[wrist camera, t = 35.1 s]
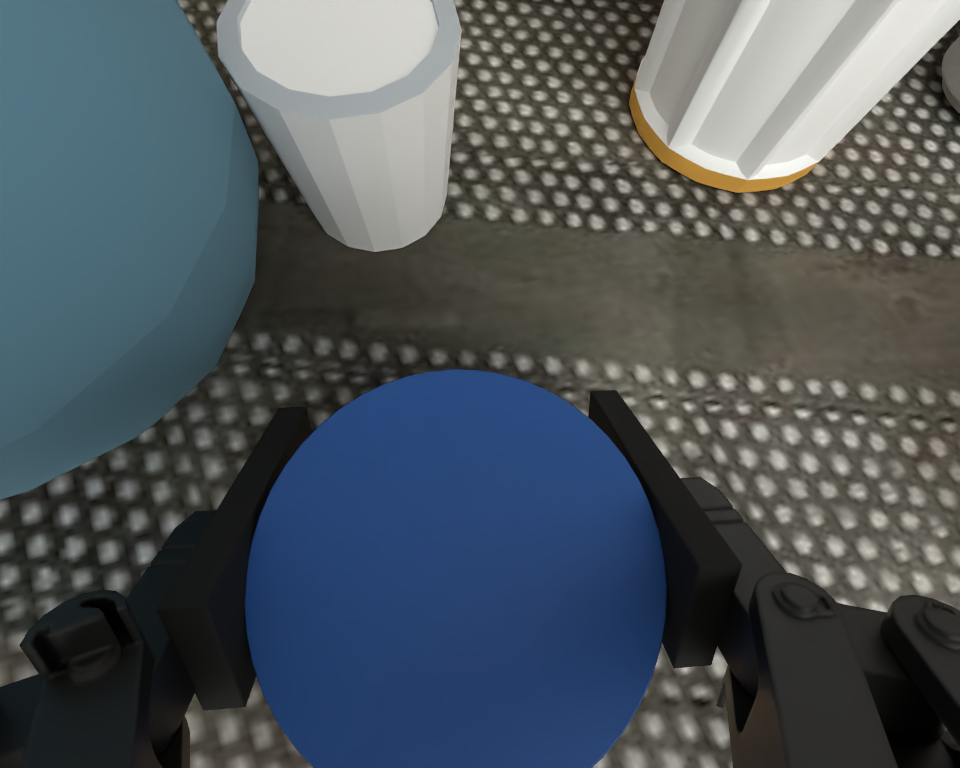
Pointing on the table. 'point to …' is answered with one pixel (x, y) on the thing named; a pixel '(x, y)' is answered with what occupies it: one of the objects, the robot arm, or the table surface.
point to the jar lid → (455, 582)
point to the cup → (772, 81)
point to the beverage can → (952, 75)
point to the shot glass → (353, 106)
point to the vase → (112, 226)
